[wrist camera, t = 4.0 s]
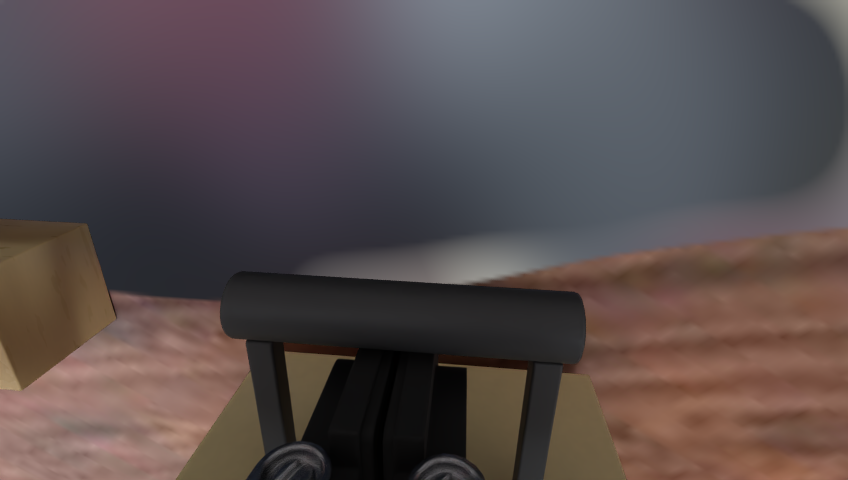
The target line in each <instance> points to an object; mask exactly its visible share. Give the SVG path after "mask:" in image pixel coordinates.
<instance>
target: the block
mask: <svg viewBox="0 0 848 480" xmlns="http://www.w3.org/2000/svg"><path fill="white" fill-rule="evenodd" d="M114 320H116V316H115V313H114V310H113V306H112V303H111V300H110V296H109V293H108V290H107V287H106V283H105V281H104V277H103V274H102V270H101V267H100V264H99V260H98V257H97V254H96V251H95V247H94V244H93V241H92V238H91V234H90V231H89V228H88V225H87V224H86V223H70V222H69V223H68V222H50V221H32V220H14V219H0V389H5V390H16V391H22V390H23V389H25V388H26V387H27V386H29V385H30V384H31V383H33V382H34V381H35V380H37V379H38V378H39V377H41V376H42V375H43V374H45V373H46V372H47V371H48V370H50V369H51V368H52V367H54V366H55V365H56V364H58V363H59V362H60V361H62V360H63V359H64V358H66V357H67V356H68V355H69V354H71V353H72V352H73V351H75V350H76V349H77V348H79V347H80V346H81V345H83V344H84V343H85V342H87V341H88V340H89V339H91V338H92V337H93V336H94V335H96V334H97V333H98V332H100V331H101V330H102V329H104V328H105V327H106V326H108V325H109V324H110V323H112V322H113V321H114Z"/></svg>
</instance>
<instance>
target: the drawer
mask: <svg viewBox="0 0 848 480" xmlns="http://www.w3.org/2000/svg"><path fill="white" fill-rule="evenodd" d="M220 319H221V325H222V328H223V330H224V332H225V333H226V335H227V336H229V337H231V338H234V339H246V347H247V353H248V359H249V365H250V372H249V373H248V375H247V376H246V378H245V379H244V381H243V382H242V384H241V385H240V387H239V388H238V390H237V391H236V392H235V394H234V395H233V397H232V398H231V400H230V401H229V403H228V404H227V406H226V407H225V408H224V410H223V411H222V413H221V414H220V416H219V417H218V419H217V420H216V422H215V423H214V424H213V426H212V427H211V429H210V430H209V432H208V433H207V435H206V436H205V438H204V439H203V440H202V442H201V443H200V445H199V446H198V448H197V449H196V451H195V452H194V454H193V455H192V457H191V458H190V459H189V461H188V462H187V464H186V465H185V467H184V468H183V470H182V471H181V473H180V474H179V475H178V477H177V478H176V480H246V479H247V477H248V476H249V474H250V473H251V472H252V470H253V469H254V467H255V466H256V464H257V463H258V462H259V461H260V460H261V459H262V458H263V457H264V455H266V454H267V453H269V452H270V451H271V450H273V449H274V448H276V447H278V446H281V445H283V444H286V443H290V442H296V441H301V439H302V437H303V434H304V432H305V430H306V427H307V425H308V423H309V421H310V418H311V416H312V414H313V411H314V409H315V407H316V404H317V402H318V400H319V398H320V395H321V393H322V391H323V388H324V386H325V384H326V381H327V379H328V377H329V374H330V372H331V370H332V368H333V365H334V363H335V361H336V360H337V359H352V360H355V357H351V356H338V355H325V354H312V353H299V352H286V351H284V345H283V342H286V343H299V344H312V345H326V346H339V347H352V348H365V349H379V350H392V351H405V352H419V353H432V354H445V355H458V356H472V357H485V358H498V359H512V360H525V361H528V368H527V370H520V369H507V368H494V367H481V366H468V365H455V364H442V363H438V366H451V367H465V368H467V426H466V459H467V460H469V461H470V462H471V463H473V464H474V465H476V466H477V468H478V469H479V470H480V471H481V473H482V474H483V476H484V478H485V480H627V479H626V476H625V474H624V471H623V468H622V465H621V463H620V460H619V457H618V454H617V451H616V449H615V446H614V443H613V440H612V438H611V435H610V432H609V429H608V426H607V424H606V421H605V418H604V415H603V413H602V410H601V407H600V404H599V402H598V399H597V396H596V393H595V390H594V388H593V385H592V382H591V379H590V377H589V375H584V374H571V373H562V371H563V363H565V364H576V363H578V362H579V361H580V359H581V357H582V354H583V350H584V346H585V338H586V318H585V310H584V305H583V302H582V299H581V297H580V295H579V294H578V293H576V292H568V291H552V290H536V289H520V288H503V287H487V286H471V285H455V284H439V283H423V282H407V281H391V280H373V279H358V278H341V277H326V276H310V275H294V274H277V273H261V272H245V271H242V272H238V273H236V274H234V275H233V276H232V277H231V278H230V280H229V281H228V283H227V285H226V287H225V289H224V292H223V295H222V299H221V306H220Z"/></svg>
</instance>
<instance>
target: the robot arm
mask: <svg viewBox="0 0 848 480" xmlns="http://www.w3.org/2000/svg"><path fill="white" fill-rule="evenodd" d="M466 426H467V368H465V367H451V366H438V354H432V353H419V352H405V351H392V350H379V349H365V348H359V349H358V352H357V354H356V357H355V360H352V359H337V360H336V361H335V363H334V365H333V368H332V370H331V372H330V374H329V377H328V379H327V381H326V384H325V386H324V388H323V391H322V393H321V395H320V398H319V400H318V402H317V404H316V407H315V409H314V411H313V414H312V416H311V418H310V421H309V423H308V425H307V427H306V430H305V432H304V434H303V437H302V439H301V441H296V442H290V443H286V444H283V445H281V446H278V447H276V448H274V449H273V450H271V451H270V452H269V453H267V454H266V455H264V457H263V458H262V459H261V460H260V461H259V462H258V463H257V464H256V466H255V467H254V469H253V470H252V472H251V473H250V474H249V476H248V477H247V479H246V480H485V478H484V476H483V474H482V473H481V471H480V470H479V469H478V468H477V466H476V465H474V464H473V463H471V462H470V461H469V460H467V459H466Z"/></svg>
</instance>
